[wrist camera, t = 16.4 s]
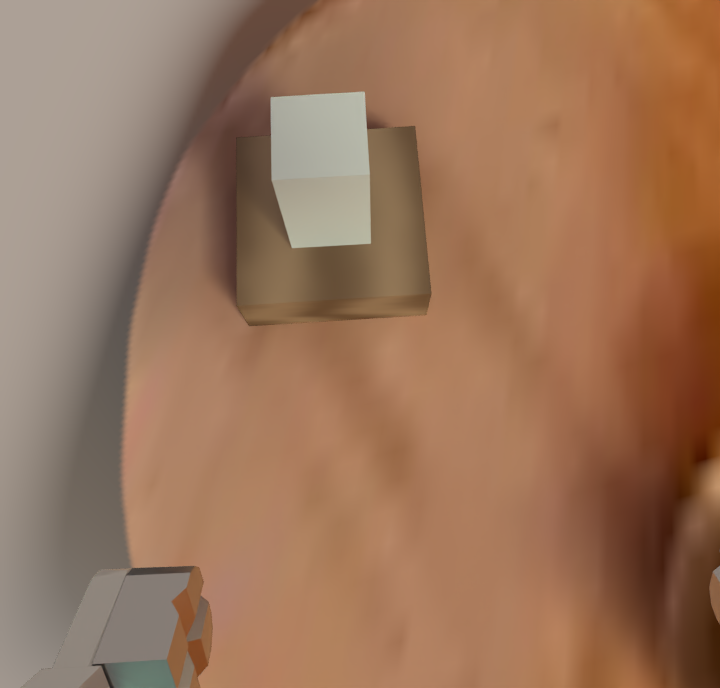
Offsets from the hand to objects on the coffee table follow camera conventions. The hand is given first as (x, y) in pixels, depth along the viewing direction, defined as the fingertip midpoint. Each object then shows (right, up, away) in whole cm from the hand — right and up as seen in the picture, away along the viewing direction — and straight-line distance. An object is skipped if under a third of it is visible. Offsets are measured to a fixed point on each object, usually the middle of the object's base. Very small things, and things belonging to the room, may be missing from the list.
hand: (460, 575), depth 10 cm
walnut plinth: (-3, +11, +34) cm, 36 cm away
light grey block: (-3, +12, +30) cm, 33 cm away
